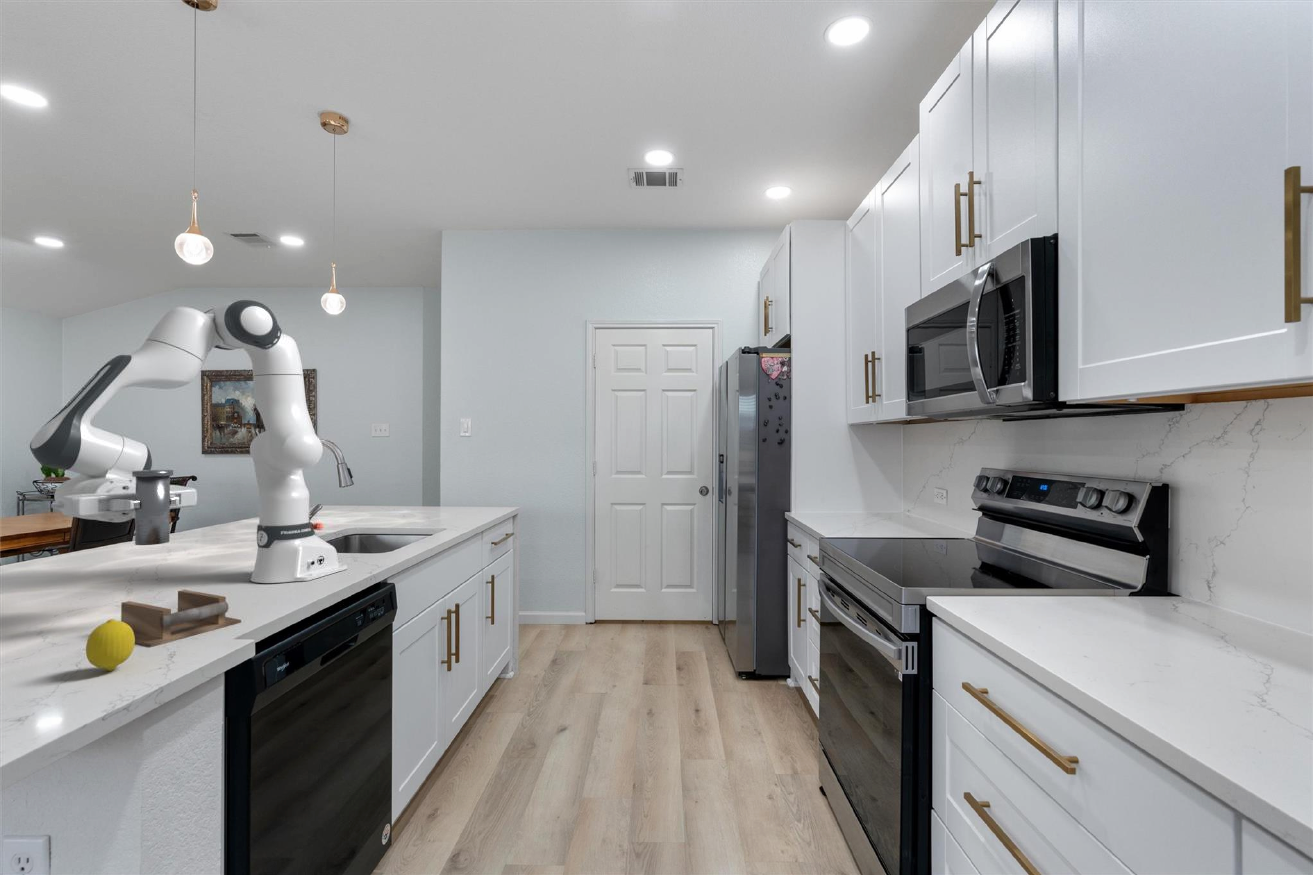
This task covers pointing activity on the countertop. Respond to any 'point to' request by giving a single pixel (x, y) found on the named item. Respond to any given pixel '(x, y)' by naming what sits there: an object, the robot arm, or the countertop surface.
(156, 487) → the hinge pin
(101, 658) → the lemon
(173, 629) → the brown wooden holder
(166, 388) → the robot arm
